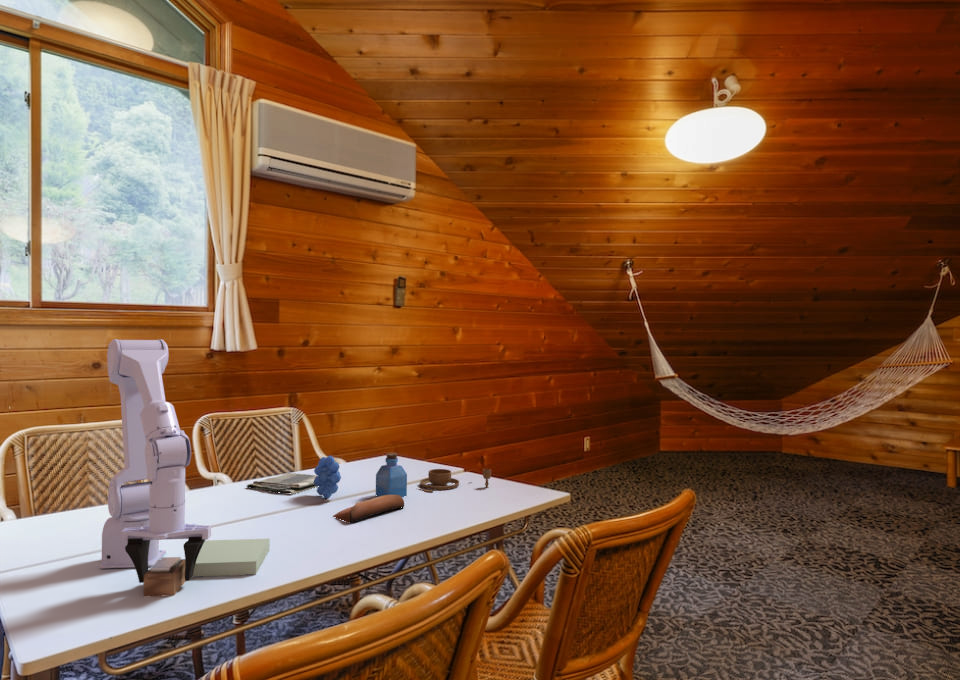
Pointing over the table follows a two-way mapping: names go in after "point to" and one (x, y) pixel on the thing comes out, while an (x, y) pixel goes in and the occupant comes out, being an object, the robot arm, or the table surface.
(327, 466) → the grapes
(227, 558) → the stand
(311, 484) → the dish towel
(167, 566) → the lid plate
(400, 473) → the perfume bottle
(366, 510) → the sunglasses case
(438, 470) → the place setting
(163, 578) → the brown box
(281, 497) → the table surface
